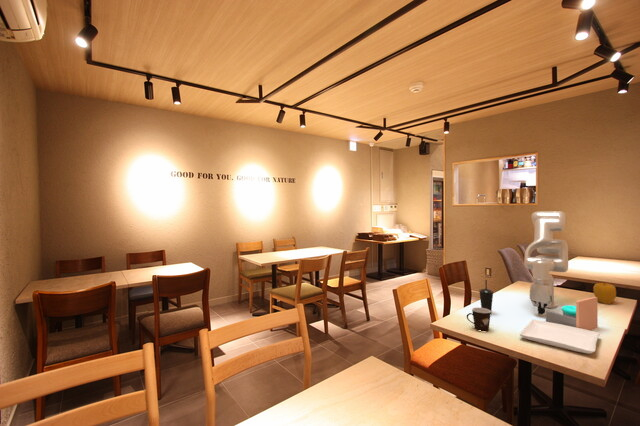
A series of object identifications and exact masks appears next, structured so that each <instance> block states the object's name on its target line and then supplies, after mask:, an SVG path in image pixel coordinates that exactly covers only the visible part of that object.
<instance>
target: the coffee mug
mask: <svg viewBox="0 0 640 426" xmlns="http://www.w3.org/2000/svg"><path fill="white" fill-rule="evenodd" d="M471 310H472V312H470V313H467V315H466V319H467V321H469V322H470V323H472V324H473V325H474V326H473V327H474V329H477V330H481V331H487V332H489V331H488V330H490V324H491V323H490V321H491V315H492V310H491V311H490V310H488V309H485V308H481V307H472V309H471ZM490 314H491V315H490ZM470 315H472V319H473V321H471V320H470V319H469V316H470ZM477 330H476V331H477ZM481 331H480V332H481Z"/></svg>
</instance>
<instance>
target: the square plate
mask: <svg viewBox="0 0 640 426" xmlns="http://www.w3.org/2000/svg"><path fill="white" fill-rule="evenodd" d="M519 335H520V336H521V338H524V339H526V340H528V341H532V342H535V343H539V344H544V345H548V346H551V347H554V348H555V347H556V348H560V349H563V350H569V351H573V352H578V353H582V354H593V353H595V352H596V348H597V342H598V339H599V336H600V335H601V333H600V332H598V331H594V330H591V331H589V330H585V329H580V328H576V327H571V326H566V325H561V324H556V323H550V322H546V320H545V321H544V320H537V319H531V320H530V321H529V323H528V324H527V325H526V326H525V327H524V328H523V329H522V330H521V331H520V333H519Z"/></svg>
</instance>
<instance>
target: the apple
mask: <svg viewBox="0 0 640 426" xmlns="http://www.w3.org/2000/svg"><path fill="white" fill-rule="evenodd" d="M592 288H593V295H594V297H597V302H598V303H601V304H604V305H610V304H613V302H614V301H615V299H616V298H617V289H616V286H615V285H613V284H611V283H606V282H599V283H598V282H597V283H595V284H594V285H593V287H592Z"/></svg>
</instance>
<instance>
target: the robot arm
mask: <svg viewBox="0 0 640 426" xmlns="http://www.w3.org/2000/svg"><path fill="white" fill-rule="evenodd" d="M566 219H567V218H566V213H565V212H564V211H559V210H557V211H556V210H555V211H554V210H549V211H547V210H541V211H534V212H532V214H531V221H532V225H533V227H534V236H533V237H534V239H533V241H532V242H531V243H530V244H529V245H528V246H527V247H526V249H525V252H524V261H523V262H524V267H525V268H526V269H527V270H532V277H531V278H530V280H531V281H532V282H531V283H530V287H529V299H530V301H531V302H532V305H533V306H536V307H537V313H538V315H544V314H546V309H556V308H557V307H558V304H556V303H555V295H554V294H555V289H554V285H555V284H554V283H555V281H554V280H555V279H554V277H553V275H552V274H551V273H550V272H552V273H553V272H555V273H566V272H567V271H568V270H569V245H568V242H567V241H566V240H564V239H555V238H554V233H553V232H563V231H564V230H565V228H566ZM535 250H536V251H537V253H538V254H539V253H540V254H541V255H540V254H539V255H536V256H531V254H532V252H533V251H535ZM555 255H556V256H555Z"/></svg>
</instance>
